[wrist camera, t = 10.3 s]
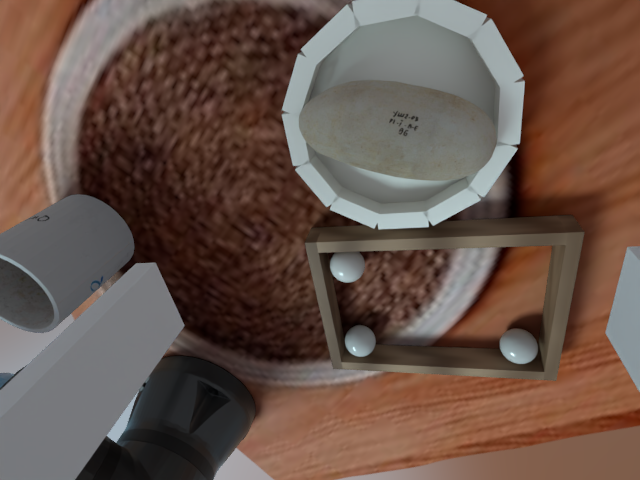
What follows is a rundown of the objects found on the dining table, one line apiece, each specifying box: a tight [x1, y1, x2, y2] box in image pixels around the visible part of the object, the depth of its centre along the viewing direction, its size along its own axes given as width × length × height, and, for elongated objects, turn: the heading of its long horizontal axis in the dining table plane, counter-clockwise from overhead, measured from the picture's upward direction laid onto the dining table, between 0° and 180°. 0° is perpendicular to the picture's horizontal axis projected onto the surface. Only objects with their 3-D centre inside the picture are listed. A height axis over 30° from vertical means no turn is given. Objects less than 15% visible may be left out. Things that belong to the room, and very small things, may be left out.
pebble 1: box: [330, 252, 365, 283], centre depth 33 cm, size 3×3×3 cm
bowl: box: [282, 0, 525, 229], centre depth 26 cm, size 15×15×3 cm
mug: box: [0, 194, 134, 333], centre depth 36 cm, size 12×9×10 cm
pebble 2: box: [500, 328, 538, 364], centre depth 34 cm, size 3×3×3 cm
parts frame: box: [305, 215, 584, 381], centre depth 33 cm, size 20×15×2 cm
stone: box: [299, 80, 497, 181], centre depth 24 cm, size 6×6×12 cm
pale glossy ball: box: [345, 325, 376, 357], centre depth 37 cm, size 3×3×3 cm
